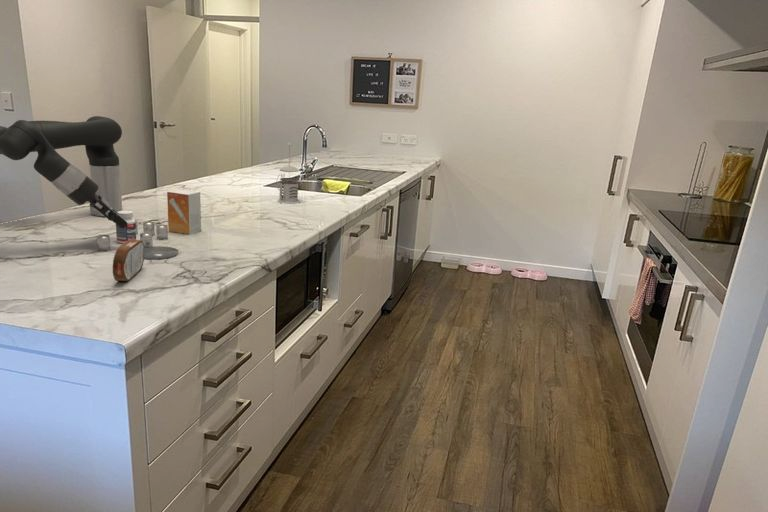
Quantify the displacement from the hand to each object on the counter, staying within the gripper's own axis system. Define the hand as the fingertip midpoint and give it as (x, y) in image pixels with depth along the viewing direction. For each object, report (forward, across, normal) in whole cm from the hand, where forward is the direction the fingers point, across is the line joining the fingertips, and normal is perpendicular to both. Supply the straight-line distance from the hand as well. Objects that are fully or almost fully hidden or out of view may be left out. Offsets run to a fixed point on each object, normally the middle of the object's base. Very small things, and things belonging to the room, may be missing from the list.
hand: (122, 222), depth 161 cm
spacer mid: (+10, -6, +2) cm, 12 cm away
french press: (+54, -43, +47) cm, 84 cm away
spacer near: (0, +7, -8) cm, 11 cm away
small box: (+18, -7, +10) cm, 22 cm away
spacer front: (+12, 0, +4) cm, 12 cm away
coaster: (+8, +15, 0) cm, 17 cm away
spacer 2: (+8, +8, -1) cm, 11 cm away
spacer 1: (+7, -9, -1) cm, 11 cm away
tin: (+2, +32, -7) cm, 33 cm away
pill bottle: (+5, 0, -4) cm, 6 cm away
